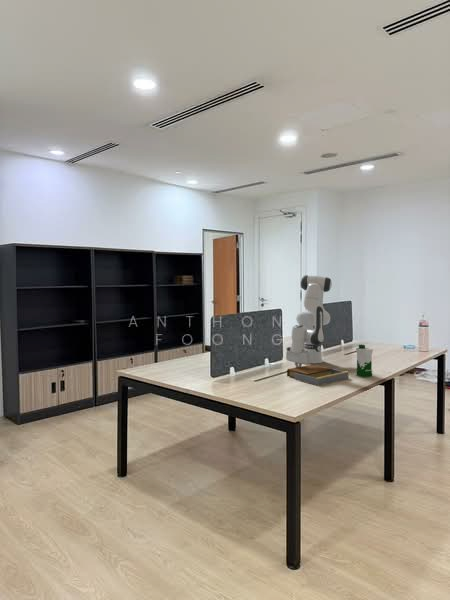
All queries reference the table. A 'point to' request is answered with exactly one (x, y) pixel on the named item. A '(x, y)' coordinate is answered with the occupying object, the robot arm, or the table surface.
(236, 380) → the table surface
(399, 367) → the table surface
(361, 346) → the milk carton
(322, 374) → the diary
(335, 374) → the bay
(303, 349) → the robot arm
